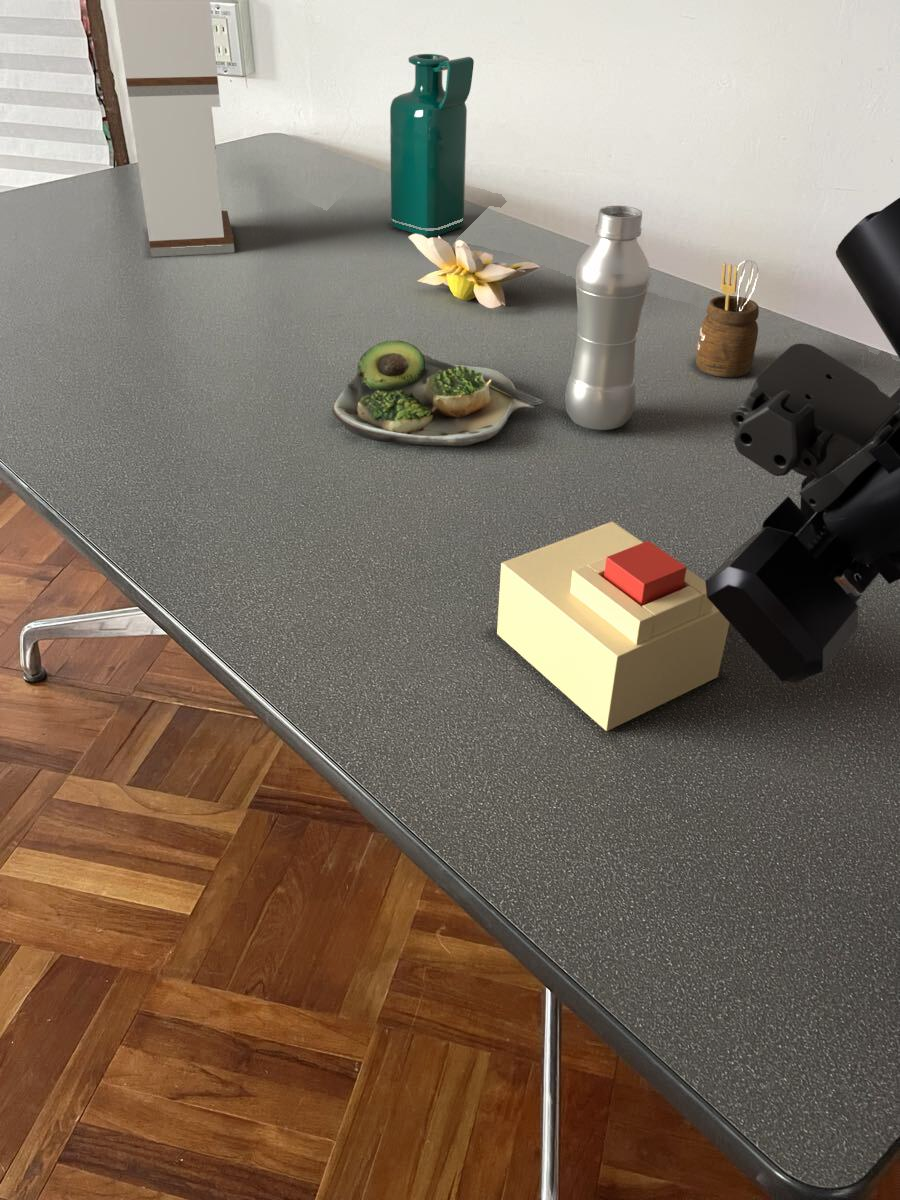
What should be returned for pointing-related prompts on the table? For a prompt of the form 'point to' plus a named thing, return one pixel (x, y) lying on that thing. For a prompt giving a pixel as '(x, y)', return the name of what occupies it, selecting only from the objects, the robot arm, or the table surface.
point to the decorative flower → (468, 270)
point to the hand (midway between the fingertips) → (750, 583)
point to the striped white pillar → (175, 122)
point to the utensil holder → (728, 331)
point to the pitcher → (430, 146)
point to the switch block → (607, 628)
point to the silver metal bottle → (608, 321)
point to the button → (645, 573)
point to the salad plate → (425, 399)
